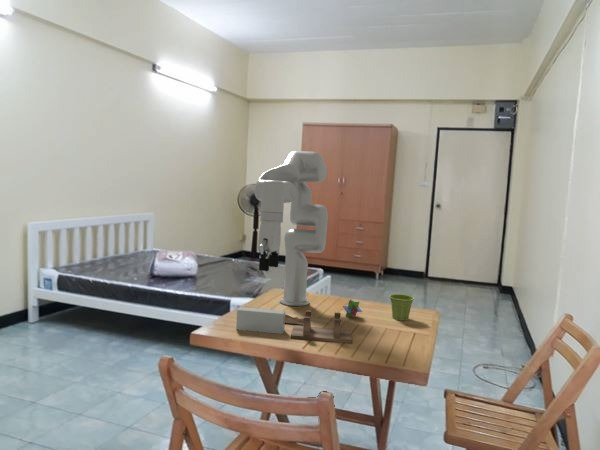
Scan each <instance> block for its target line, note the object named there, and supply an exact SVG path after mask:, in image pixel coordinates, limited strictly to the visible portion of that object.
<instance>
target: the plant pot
mask: <svg viewBox="0 0 600 450" xmlns="http://www.w3.org/2000/svg"><path fill="white" fill-rule="evenodd" d="M389 298H390V303H391V315H392V317H391V318H393V319H394V320H396V321H402V320H403V321H408V320H409V317H410V313H411V309H412V305H413V301H414V300H415V297H413V296H411V295H408V294H401V293H395V294H390V295H389Z"/></svg>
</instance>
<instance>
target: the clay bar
mask: <svg viewBox="0 0 600 450" xmlns="http://www.w3.org/2000/svg"><path fill="white" fill-rule="evenodd" d="M285 314H286V311H285V310H279V309H278V310H277V309H267V308H255V307H243V306H239V308H238V307H237V309H236V328H235V329H239V330H238V331H246V330H248V331H247V332H257V331H258V332H259V333H268V334H269V333H270V334H279V335H280V334H281V335H283V334H284V332H285V328H286V327H285V324H286V323H285Z"/></svg>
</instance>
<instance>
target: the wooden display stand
mask: <svg viewBox="0 0 600 450" xmlns="http://www.w3.org/2000/svg"><path fill="white" fill-rule="evenodd" d="M312 312H313V311H312V310H308V309H307V310H305V315H304V316H303V319H304V325H293V326H292V329H291V333H290V337H289V338H290V339H291V340H292V339H294V340H307V341H309V340H310V341H318V342H330V343H344V344H346V343H348V344H352V343H353V336H352V330H351V329H342V328H341V321H342V319H341V315H342V313H341V312H334V317H333V319H334V320H333V328H332V327H331V328H330V327H316V326H312Z"/></svg>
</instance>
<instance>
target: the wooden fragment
mask: <svg viewBox="0 0 600 450" xmlns="http://www.w3.org/2000/svg"><path fill="white" fill-rule="evenodd" d="M285 324H292V325H299V326H304V318H299V317H297V316H296V317H293V316H291V315H289V314H286V313H285Z"/></svg>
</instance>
